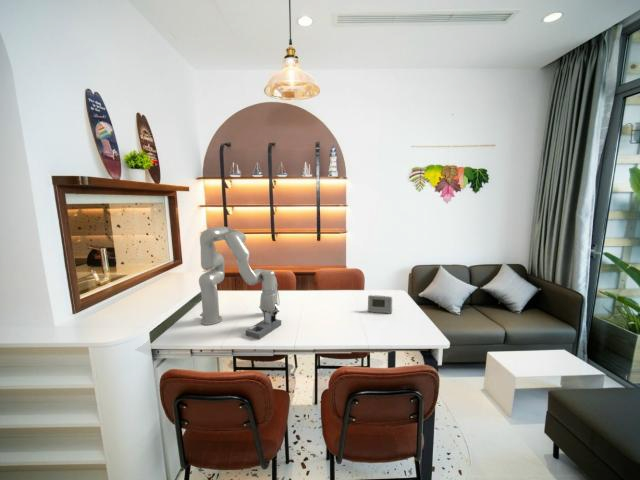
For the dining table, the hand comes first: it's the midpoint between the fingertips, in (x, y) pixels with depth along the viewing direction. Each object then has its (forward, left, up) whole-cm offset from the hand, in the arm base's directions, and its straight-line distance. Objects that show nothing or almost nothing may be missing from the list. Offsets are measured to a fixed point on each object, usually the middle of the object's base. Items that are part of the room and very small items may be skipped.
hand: (269, 320), depth 164 cm
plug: (0, 0, -4) cm, 4 cm away
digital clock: (+53, +51, -4) cm, 74 cm away
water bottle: (-10, +17, -4) cm, 20 cm away
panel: (0, -5, -4) cm, 7 cm away
